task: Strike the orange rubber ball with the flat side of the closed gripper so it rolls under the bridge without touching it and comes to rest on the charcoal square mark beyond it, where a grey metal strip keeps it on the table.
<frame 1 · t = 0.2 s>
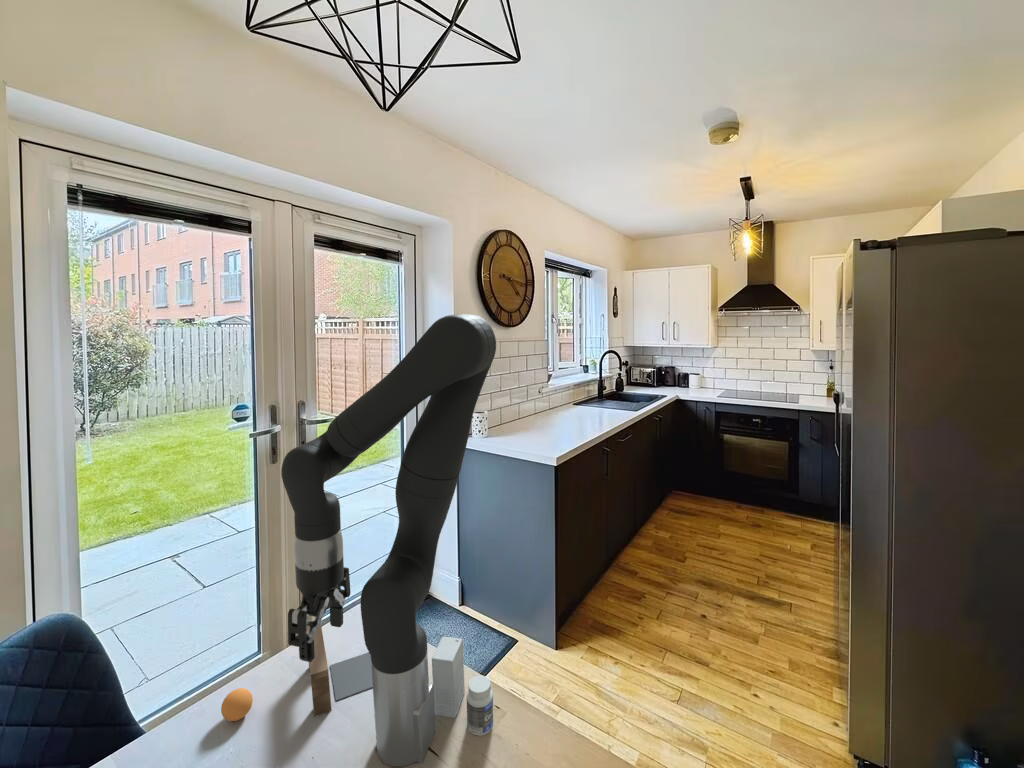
hand: (323, 641, 80), 17 cm above the table, tool pointing down, fingers open, 8 cm apart
skincare box: (449, 704, 88), on the table
ball: (237, 704, 85), on the table
pill bottle: (480, 725, 83), on the table
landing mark: (358, 673, 95), on the table
bridge: (319, 687, 92), on the table
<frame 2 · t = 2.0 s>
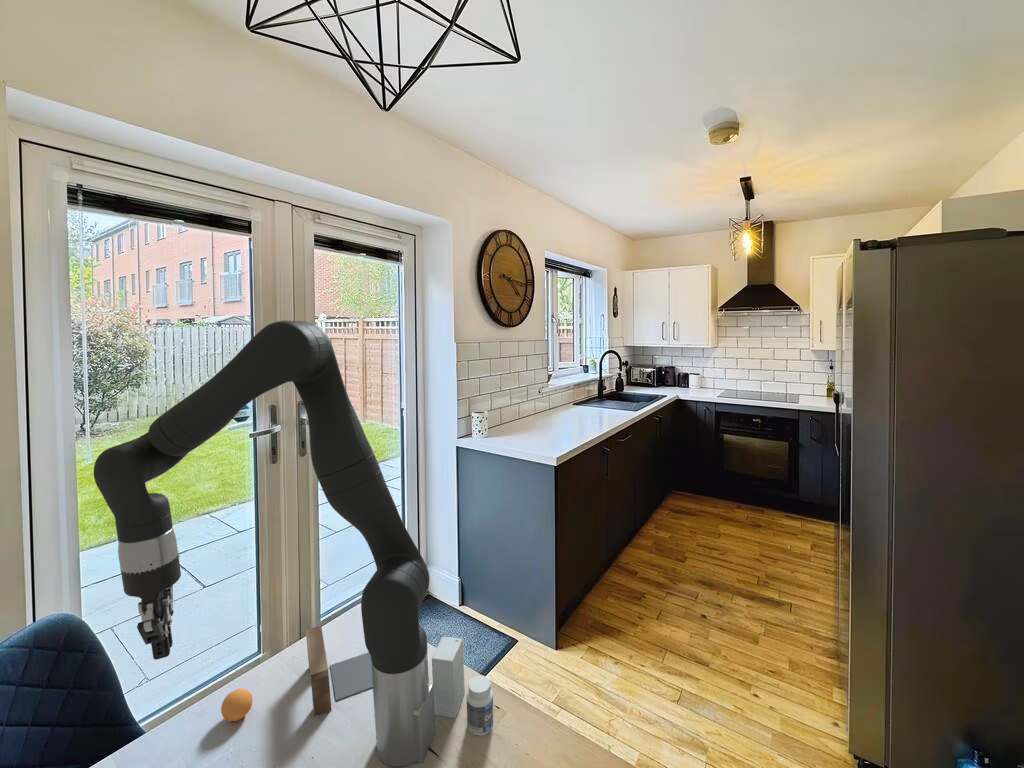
hand: (163, 652, 78), 17 cm above the table, tool pointing down, fingers closed
nothing on the table moved.
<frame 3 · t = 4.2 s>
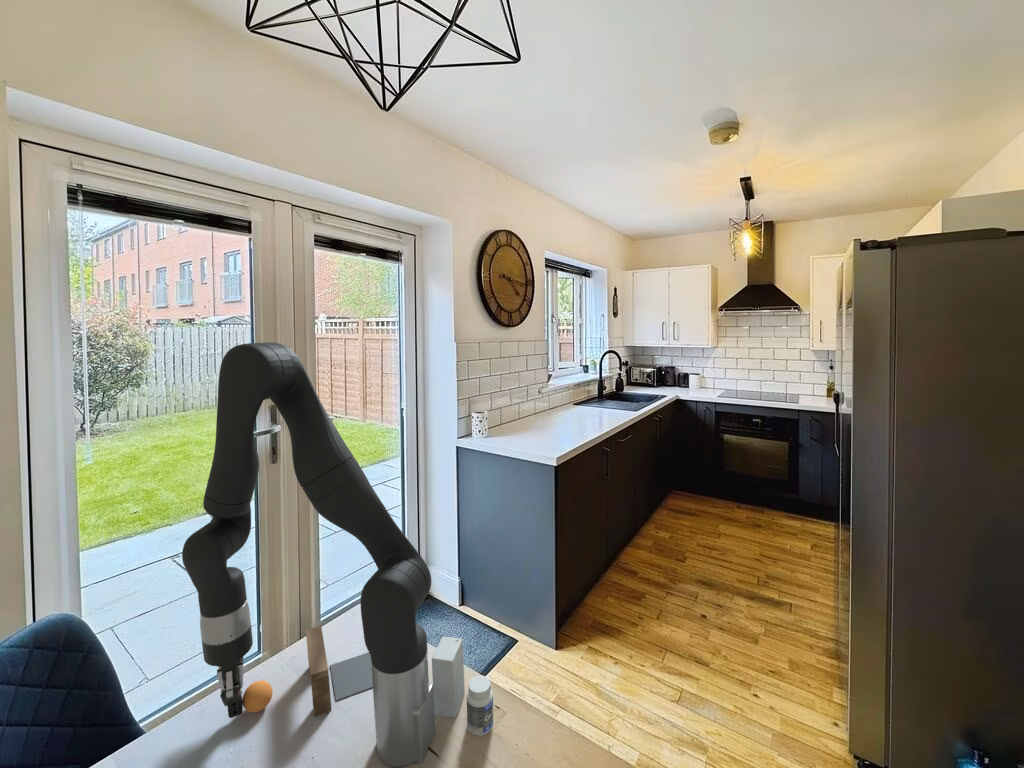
hand: (236, 713, 84), 1 cm above the table, tool pointing down, fingers closed
ball: (257, 696, 87), on the table, touching gripper
everything else where it was.
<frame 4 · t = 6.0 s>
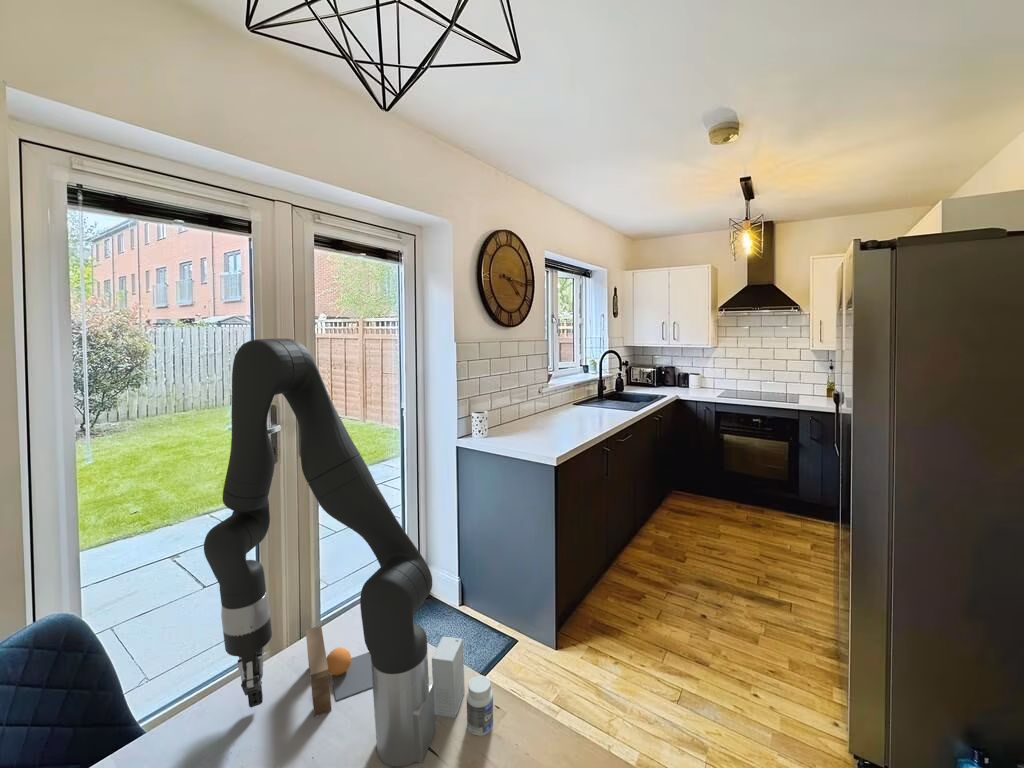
hand: (256, 702, 86), 2 cm above the table, tool pointing down, fingers closed
ball: (338, 661, 95), on the table
everything else where it was.
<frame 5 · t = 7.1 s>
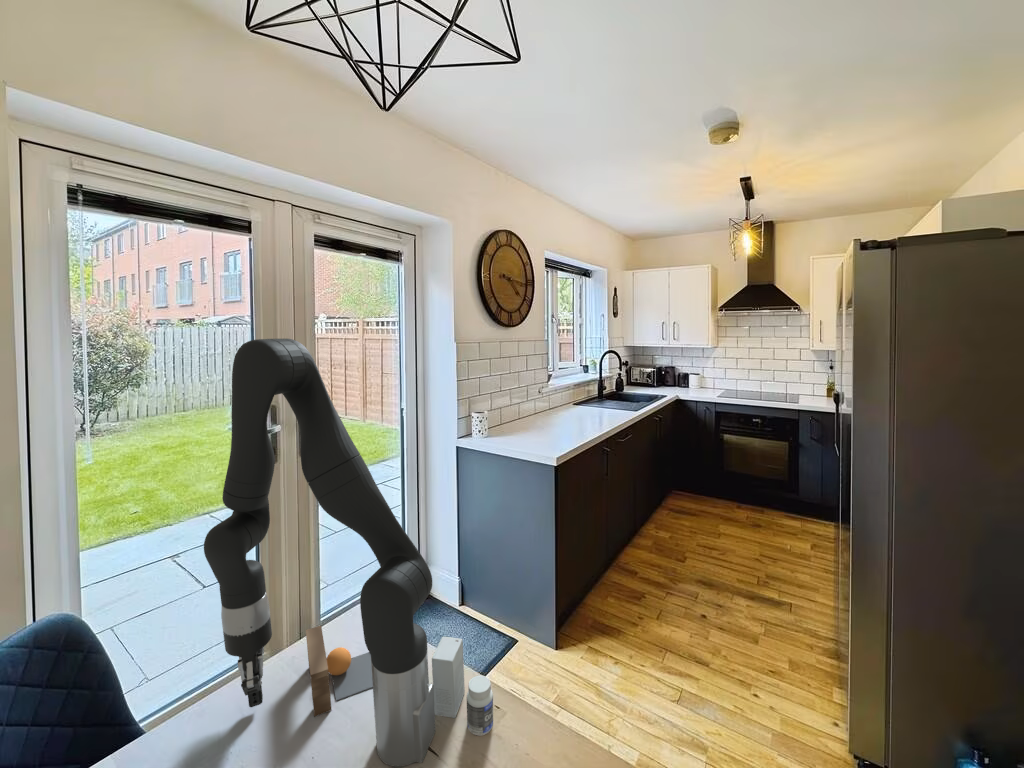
hand: (256, 702, 86), 2 cm above the table, tool pointing down, fingers closed
nothing on the table moved.
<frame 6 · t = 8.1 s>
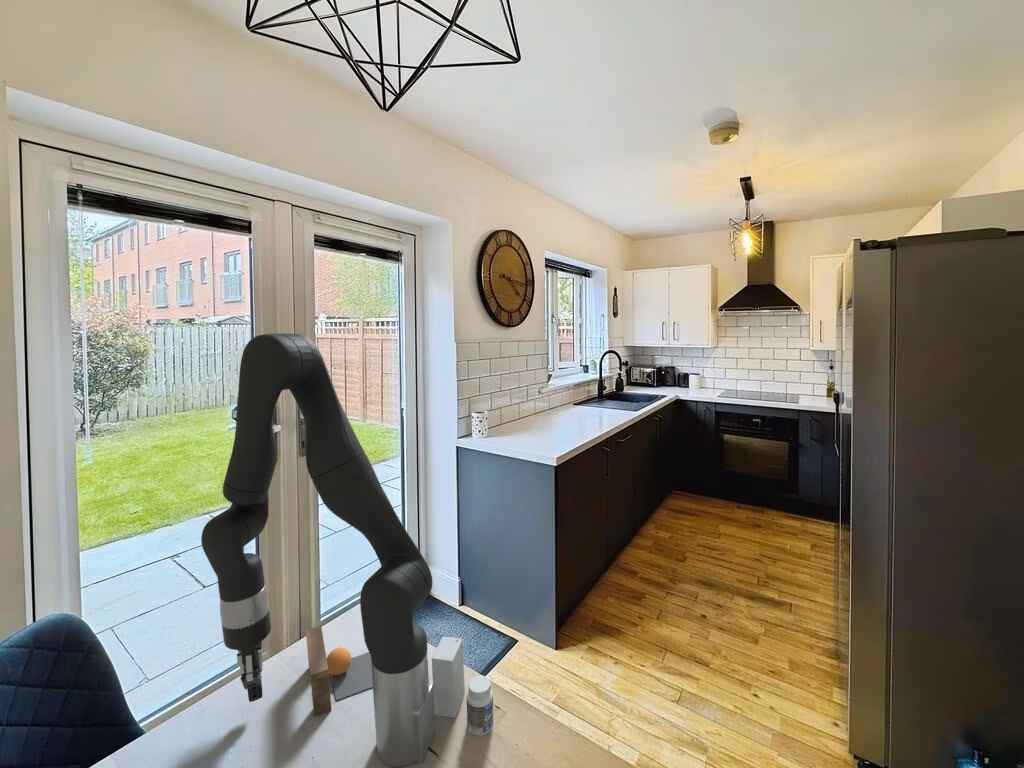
hand: (256, 697, 86), 3 cm above the table, tool pointing down, fingers closed
nothing on the table moved.
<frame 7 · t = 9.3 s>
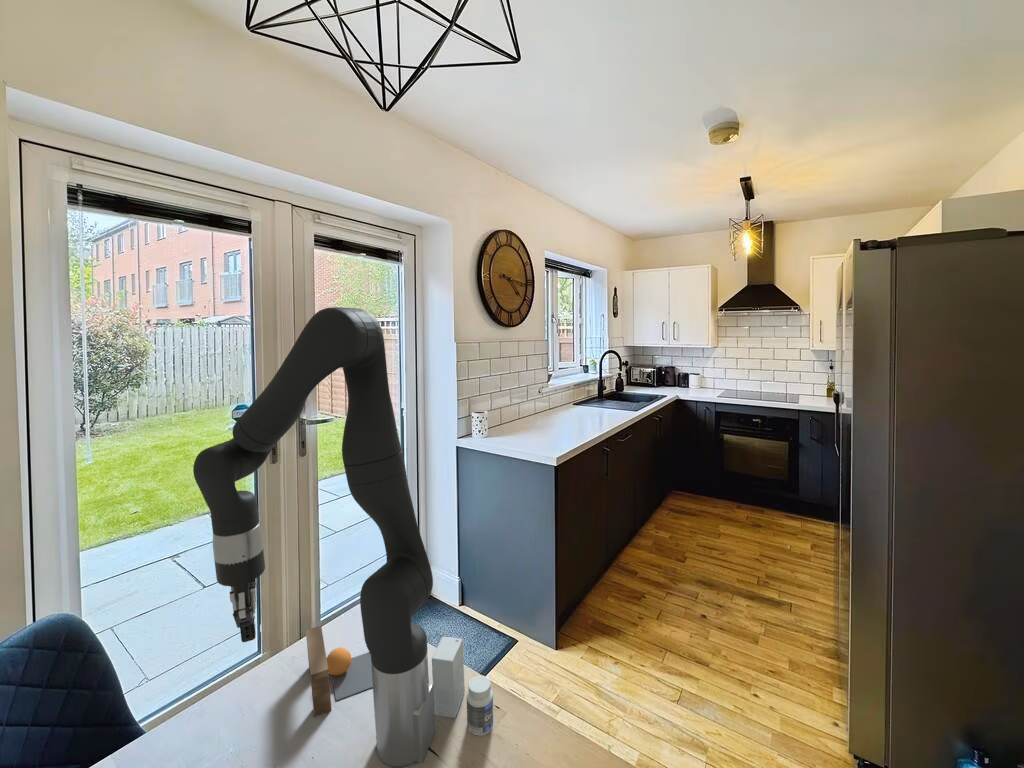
hand: (248, 638, 84), 15 cm above the table, tool pointing down, fingers closed
nothing on the table moved.
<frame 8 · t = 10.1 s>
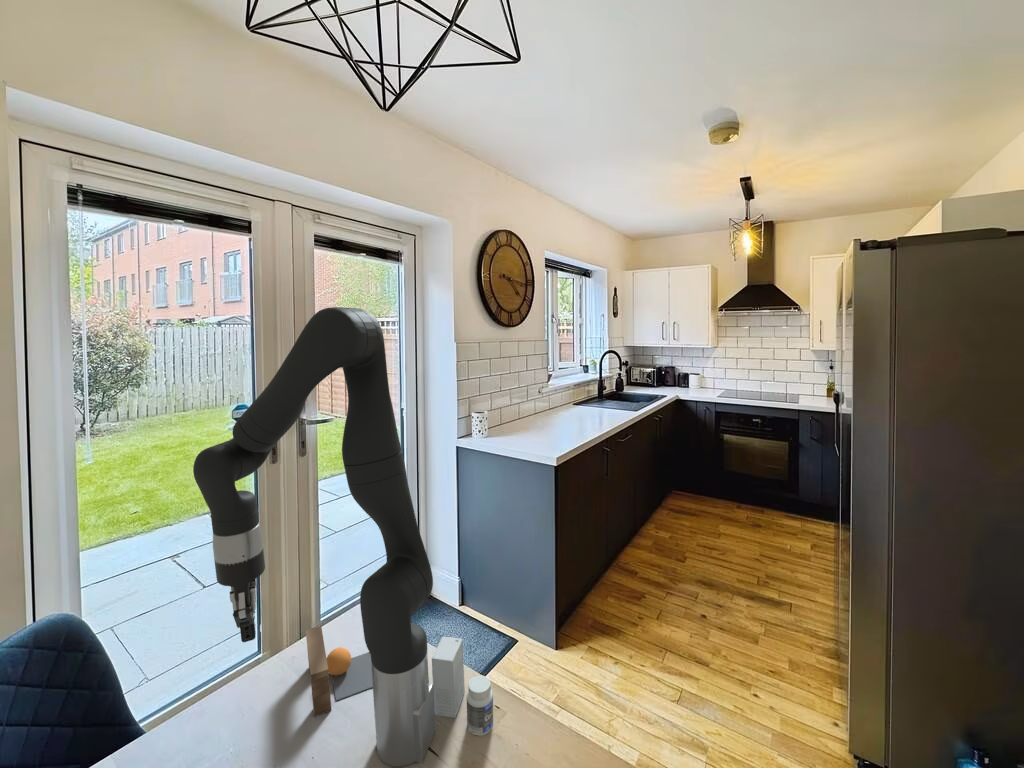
hand: (248, 638, 84), 15 cm above the table, tool pointing down, fingers closed
nothing on the table moved.
at the end: ball 4.2 cm from the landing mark (horizontally); ball never touched bridge; ball at rest at the end (0.0 cm/s) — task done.
